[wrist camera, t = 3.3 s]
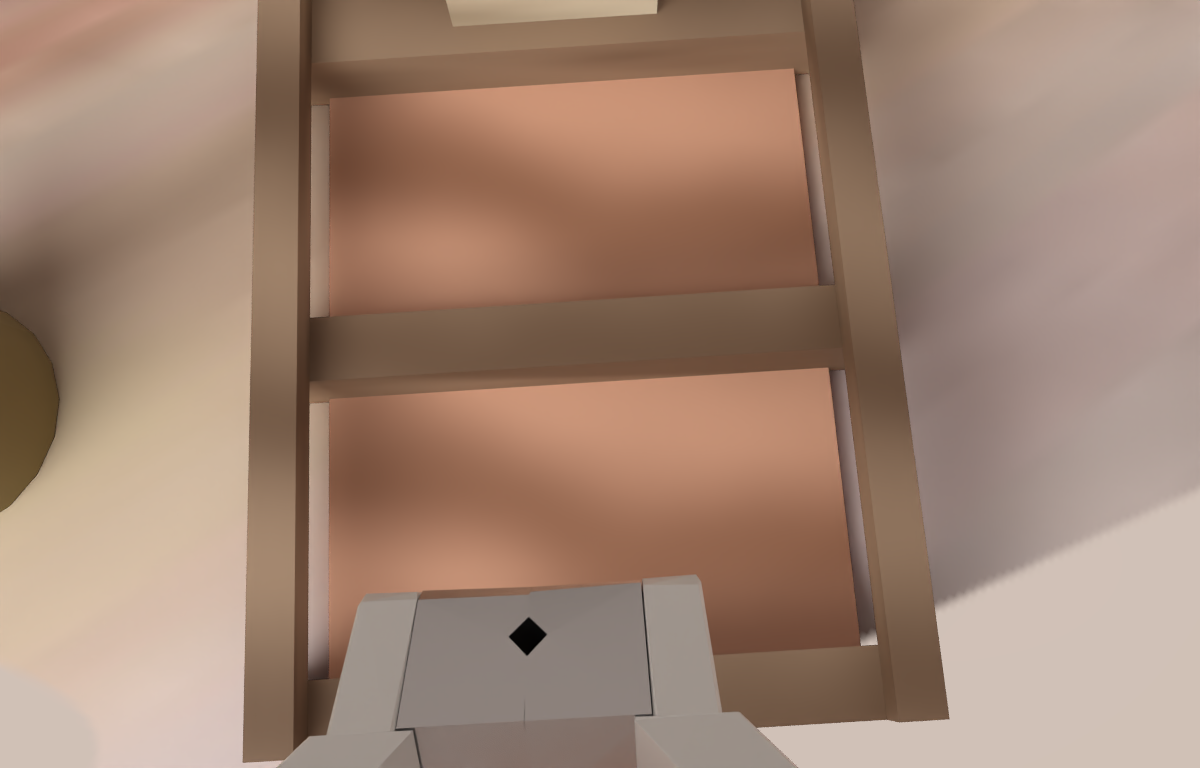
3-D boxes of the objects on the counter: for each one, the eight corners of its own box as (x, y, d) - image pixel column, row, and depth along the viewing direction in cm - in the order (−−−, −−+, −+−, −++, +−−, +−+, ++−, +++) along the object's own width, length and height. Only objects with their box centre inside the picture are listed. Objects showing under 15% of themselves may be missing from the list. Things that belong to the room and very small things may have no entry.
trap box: (299, -326, 32) (226, -547, 26) (776, -358, 32) (810, -586, 26) (288, 750, 24) (183, 779, 19) (910, 712, 24) (1000, 728, 19)
